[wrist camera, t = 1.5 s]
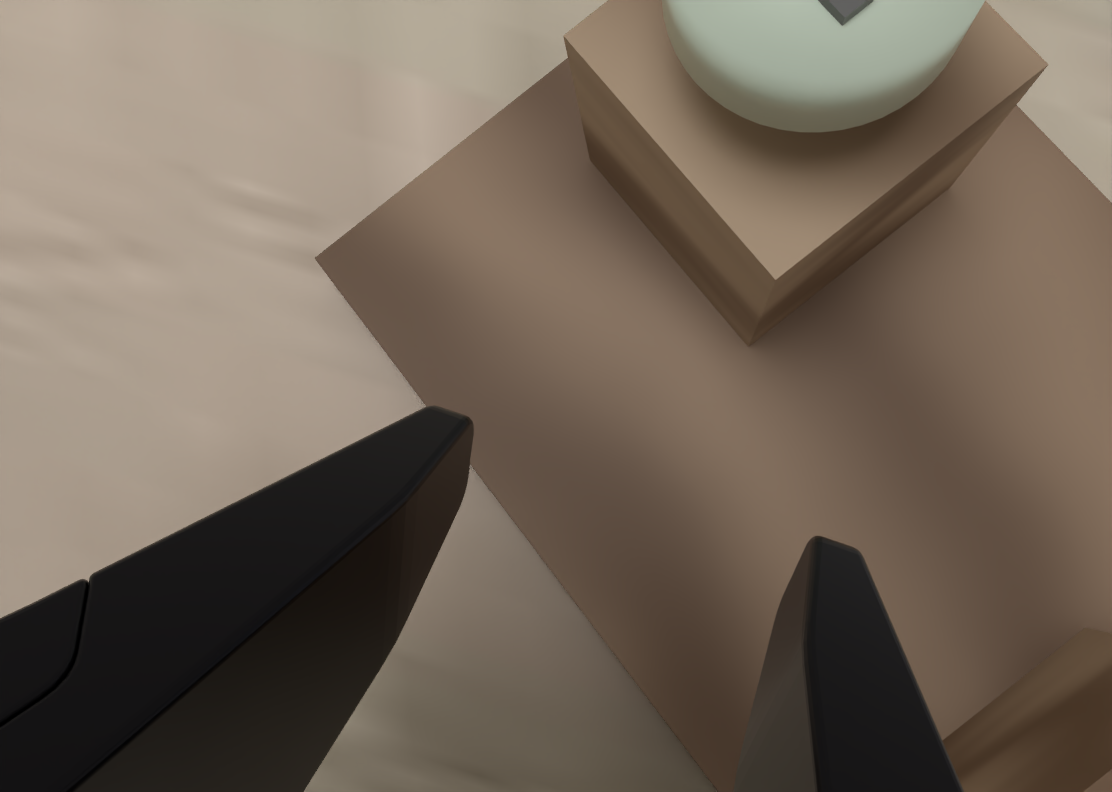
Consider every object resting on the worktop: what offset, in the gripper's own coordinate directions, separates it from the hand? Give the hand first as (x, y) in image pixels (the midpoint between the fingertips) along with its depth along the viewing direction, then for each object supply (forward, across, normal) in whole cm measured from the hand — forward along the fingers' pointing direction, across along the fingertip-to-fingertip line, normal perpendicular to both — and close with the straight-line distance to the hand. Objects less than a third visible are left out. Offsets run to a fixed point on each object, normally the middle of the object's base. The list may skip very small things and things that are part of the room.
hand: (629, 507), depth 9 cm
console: (+11, -5, +8) cm, 15 cm away
